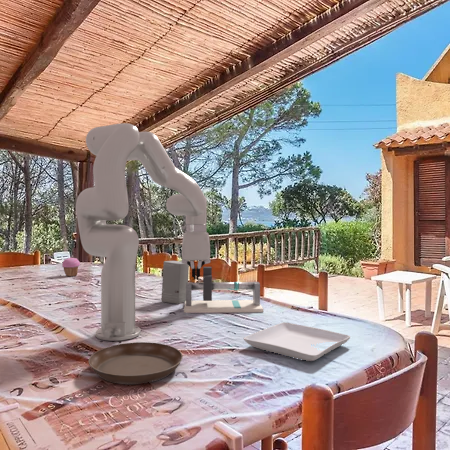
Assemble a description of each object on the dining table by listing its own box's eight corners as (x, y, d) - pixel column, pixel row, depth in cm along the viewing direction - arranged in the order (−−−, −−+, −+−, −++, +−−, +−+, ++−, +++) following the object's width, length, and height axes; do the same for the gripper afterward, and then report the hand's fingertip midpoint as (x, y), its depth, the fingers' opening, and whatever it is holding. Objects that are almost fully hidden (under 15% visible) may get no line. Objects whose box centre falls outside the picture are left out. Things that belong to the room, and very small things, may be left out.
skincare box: (161, 302, 159) (161, 261, 159) (171, 298, 166) (171, 259, 165) (179, 304, 155) (179, 263, 155) (189, 300, 162) (189, 261, 161)
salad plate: (283, 331, 123) (283, 320, 123) (351, 347, 109) (352, 334, 109) (240, 350, 107) (241, 337, 106) (315, 370, 93) (315, 356, 93)
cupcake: (83, 275, 221) (83, 257, 220) (69, 278, 213) (69, 258, 213) (72, 274, 225) (72, 256, 225) (58, 276, 218) (58, 257, 218)
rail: (259, 305, 150) (260, 282, 149) (185, 306, 148) (185, 283, 147) (258, 302, 154) (258, 280, 153) (186, 303, 152) (186, 281, 151)
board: (263, 312, 145) (263, 308, 145) (183, 312, 143) (184, 309, 143) (257, 303, 159) (257, 299, 159) (185, 303, 157) (185, 300, 157)
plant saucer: (185, 354, 103) (185, 341, 103) (178, 390, 82) (179, 374, 82) (102, 354, 102) (102, 341, 102) (75, 391, 82) (75, 374, 82)
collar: (211, 300, 146) (212, 269, 145) (203, 300, 146) (203, 269, 145) (211, 295, 155) (211, 265, 154) (203, 295, 154) (203, 265, 154)
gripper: (175, 229, 145) (174, 281, 145) (217, 229, 146) (216, 280, 147) (175, 228, 152) (175, 277, 153) (216, 228, 153) (215, 277, 154)
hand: (195, 279), depth 150 cm, fingers closed
